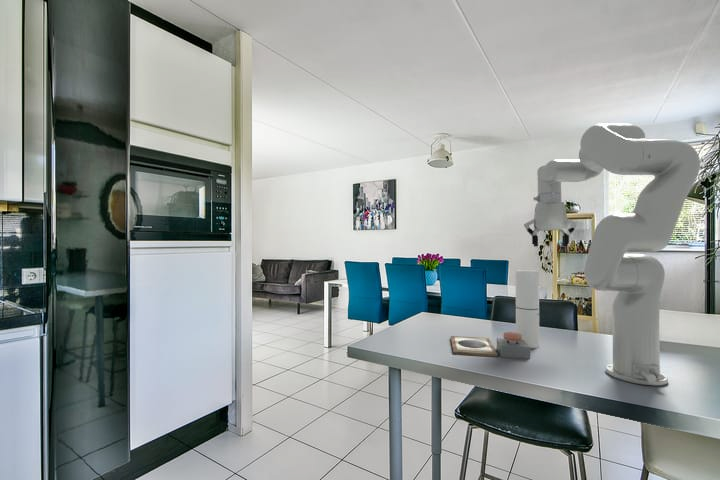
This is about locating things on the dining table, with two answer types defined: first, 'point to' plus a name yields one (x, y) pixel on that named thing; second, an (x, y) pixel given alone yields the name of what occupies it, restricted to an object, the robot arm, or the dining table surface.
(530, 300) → the cylindrical container
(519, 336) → the button
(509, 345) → the button housing
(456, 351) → the sketch board
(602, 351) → the dining table surface
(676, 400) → the dining table surface
